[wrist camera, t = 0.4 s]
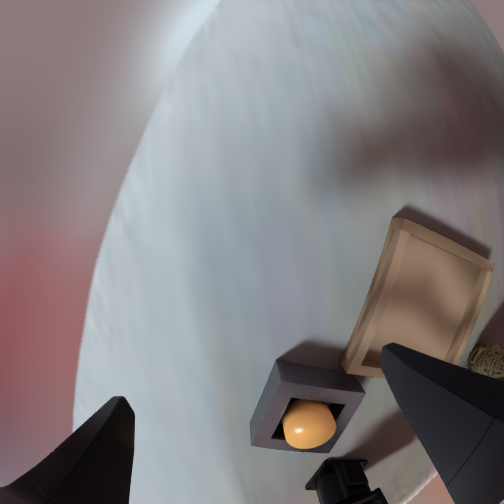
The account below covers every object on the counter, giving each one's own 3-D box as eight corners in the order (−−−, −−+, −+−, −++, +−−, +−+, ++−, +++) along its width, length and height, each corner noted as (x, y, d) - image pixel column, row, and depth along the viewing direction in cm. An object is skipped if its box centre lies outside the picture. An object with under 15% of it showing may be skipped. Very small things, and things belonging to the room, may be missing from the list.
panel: (321, 431, 26) (328, 453, 22) (249, 422, 25) (251, 445, 21) (352, 373, 25) (365, 393, 21) (275, 359, 24) (281, 380, 21)
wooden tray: (437, 374, 25) (447, 383, 23) (339, 362, 24) (346, 373, 22) (482, 260, 24) (494, 263, 22) (392, 217, 23) (404, 218, 21)
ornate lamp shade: (447, 366, 25) (487, 398, 17) (483, 317, 25) (527, 340, 17) (465, 388, 26) (498, 418, 18) (497, 346, 26) (534, 368, 18)
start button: (317, 433, 23) (323, 450, 20) (275, 428, 23) (277, 446, 20) (336, 400, 22) (344, 416, 20) (291, 393, 22) (296, 411, 20)
